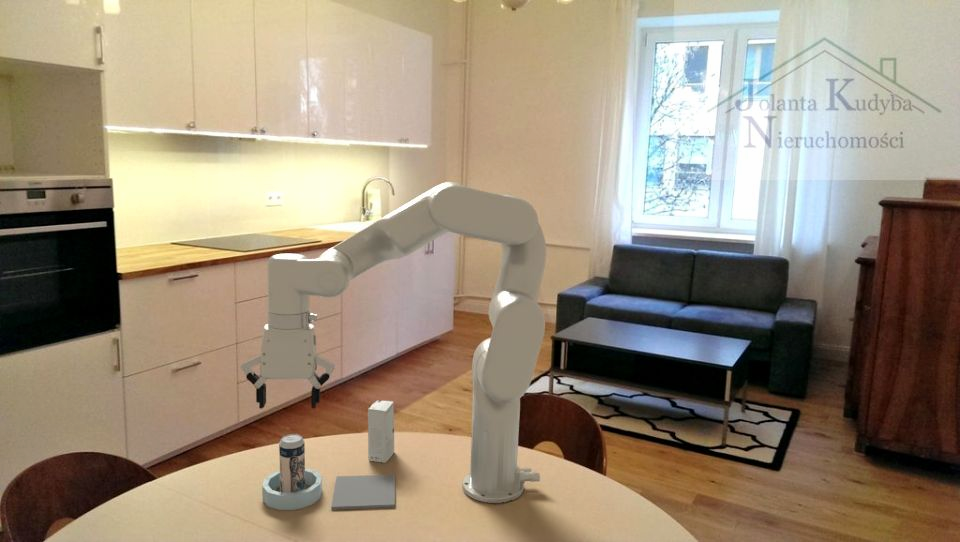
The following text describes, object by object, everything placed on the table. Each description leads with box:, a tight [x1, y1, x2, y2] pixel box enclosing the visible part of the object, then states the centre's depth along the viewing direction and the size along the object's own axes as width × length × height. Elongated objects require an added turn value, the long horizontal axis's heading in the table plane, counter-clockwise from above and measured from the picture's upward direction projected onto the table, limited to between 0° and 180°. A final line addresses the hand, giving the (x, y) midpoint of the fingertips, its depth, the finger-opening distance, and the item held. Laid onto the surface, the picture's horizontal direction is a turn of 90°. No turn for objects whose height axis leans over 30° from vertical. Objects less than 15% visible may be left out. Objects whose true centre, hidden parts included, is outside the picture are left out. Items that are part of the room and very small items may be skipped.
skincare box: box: [367, 399, 395, 464], centre depth 147 cm, size 6×4×12 cm
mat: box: [330, 474, 396, 511], centre depth 132 cm, size 12×12×1 cm
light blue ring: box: [261, 467, 323, 511], centre depth 130 cm, size 11×11×3 cm
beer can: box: [278, 433, 306, 493], centre depth 130 cm, size 5×5×12 cm
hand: (288, 405), depth 127 cm, fingers open, 9 cm apart
